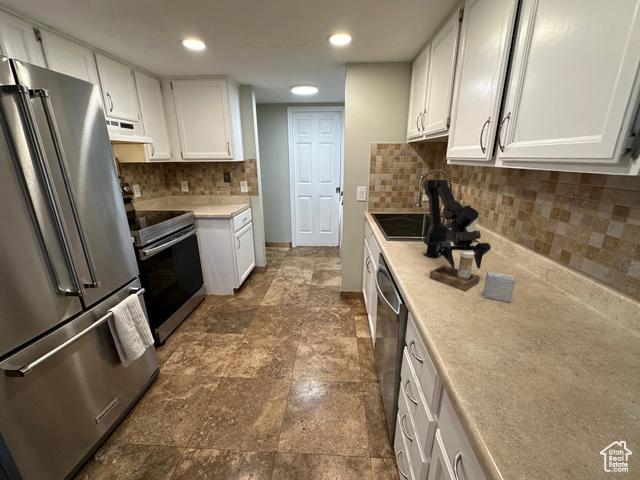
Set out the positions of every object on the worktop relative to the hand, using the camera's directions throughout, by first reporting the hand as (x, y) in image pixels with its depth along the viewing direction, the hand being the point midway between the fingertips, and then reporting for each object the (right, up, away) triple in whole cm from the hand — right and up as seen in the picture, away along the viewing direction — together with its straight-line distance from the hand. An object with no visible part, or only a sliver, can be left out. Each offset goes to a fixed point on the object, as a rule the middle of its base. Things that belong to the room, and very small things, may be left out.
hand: (466, 268), depth 101 cm
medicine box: (+7, -10, -7) cm, 14 cm away
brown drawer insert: (-2, -6, +6) cm, 8 cm away
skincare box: (+28, +9, +53) cm, 60 cm away
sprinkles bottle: (+1, -7, +4) cm, 8 cm away
